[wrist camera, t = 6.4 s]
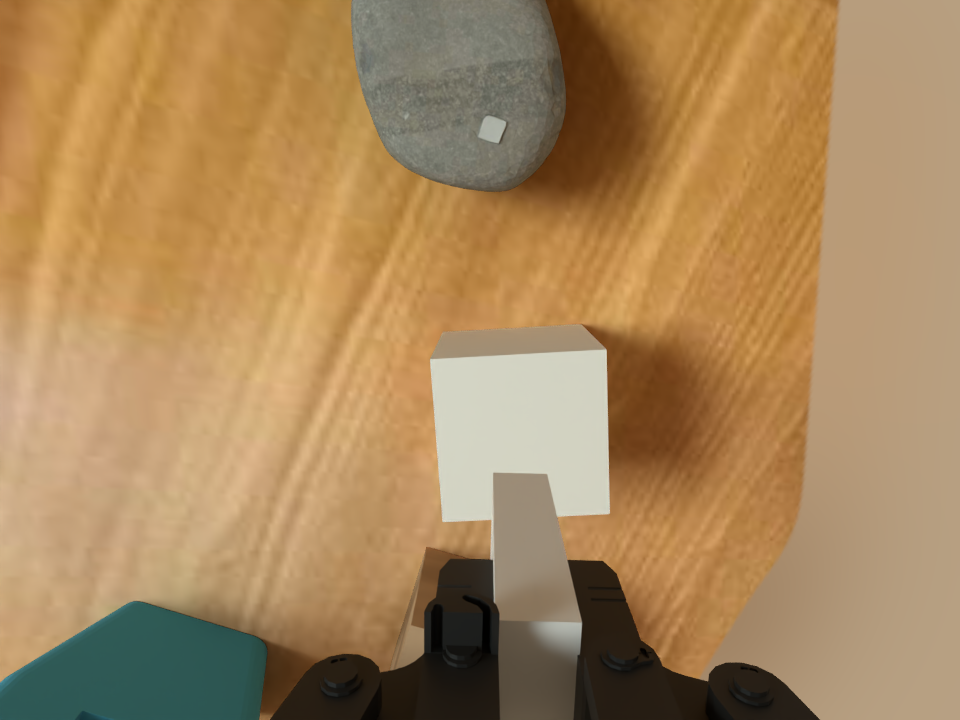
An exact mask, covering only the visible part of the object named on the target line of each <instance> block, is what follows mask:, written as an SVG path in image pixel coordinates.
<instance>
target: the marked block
mask: <svg viewBox="0 0 960 720" xmlns="http://www.w3.org/2000/svg"><path fill="white" fill-rule="evenodd" d="M449 559H468V558H464V557H461V556H457V555H453V554H450V553H446V552H443V551H439V550H436V549H432V548H429V547H426V550H425V554H424V557H423V560H422V563H421V567H420V570H419V573H418V576H417V580H416V583H415V586H414V589H413V593H412V596H411V599H410V602H409V606H408V609H407V612H406V615H405V619H404V622H403V625H402V628H401V632H400V635H399V638H398V641H397V645H396V648H395V651H394V654H393V658H392V663H391V667H390V670H395V669H398V668H401V667H405V666H407V665H409V664H411V663H412V662H414V661H416V660H417V659H418V658H419V657H421V656H422V655H423V653H424V611H425V609H426V607H427V605H428V603H429V602H430V601H432V600H433V599H434V598H436V592H437V586H438V578H439V571H440V570H441V568H442V567H443V566H444V565H445V564H446V563H447V562H448V561H449Z"/></svg>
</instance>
